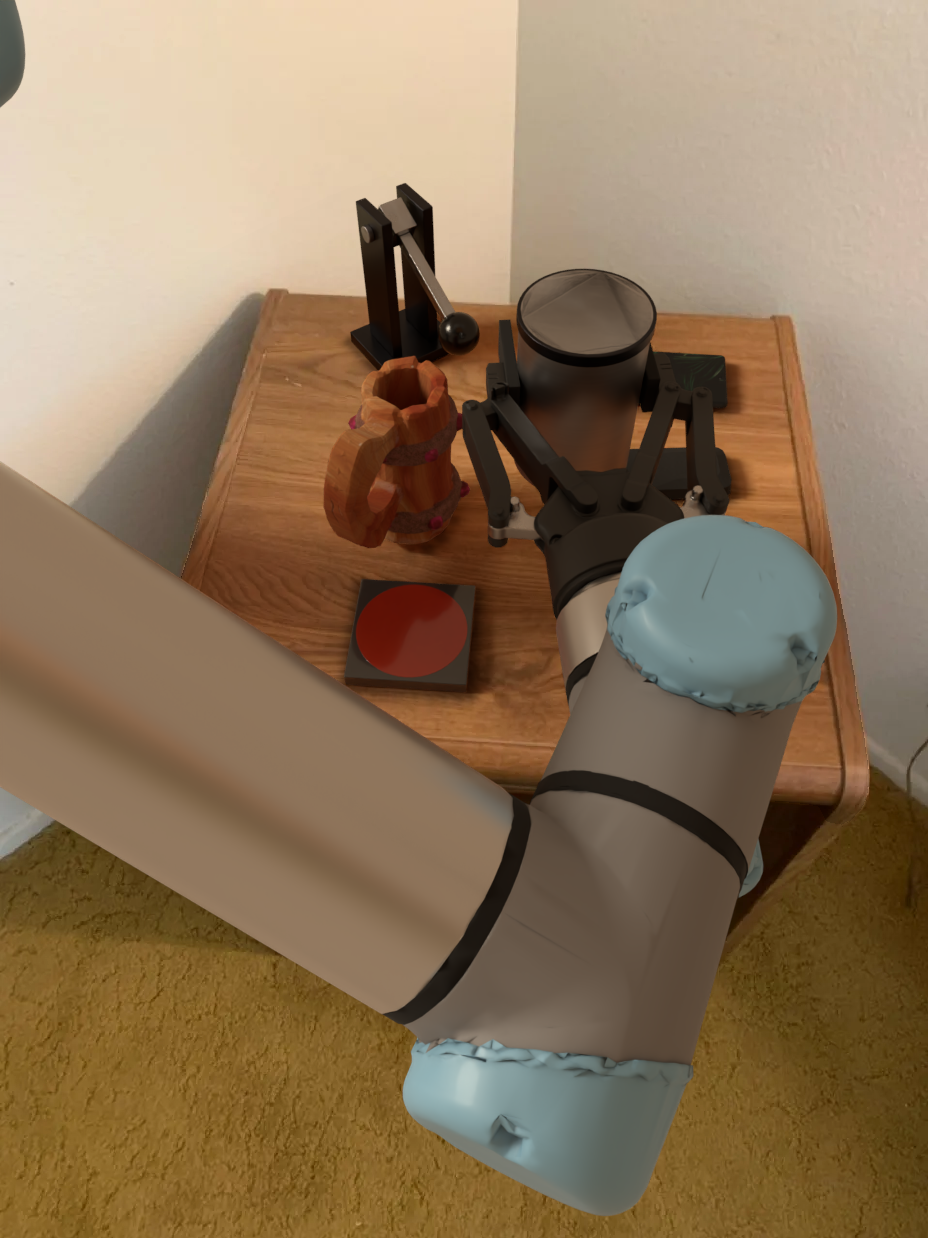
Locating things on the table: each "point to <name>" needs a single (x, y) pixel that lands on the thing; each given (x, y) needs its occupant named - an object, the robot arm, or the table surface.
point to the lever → (431, 284)
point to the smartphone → (701, 374)
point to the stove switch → (387, 325)
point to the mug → (396, 459)
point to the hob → (411, 636)
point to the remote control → (681, 471)
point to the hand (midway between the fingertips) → (569, 333)
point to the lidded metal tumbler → (584, 363)
